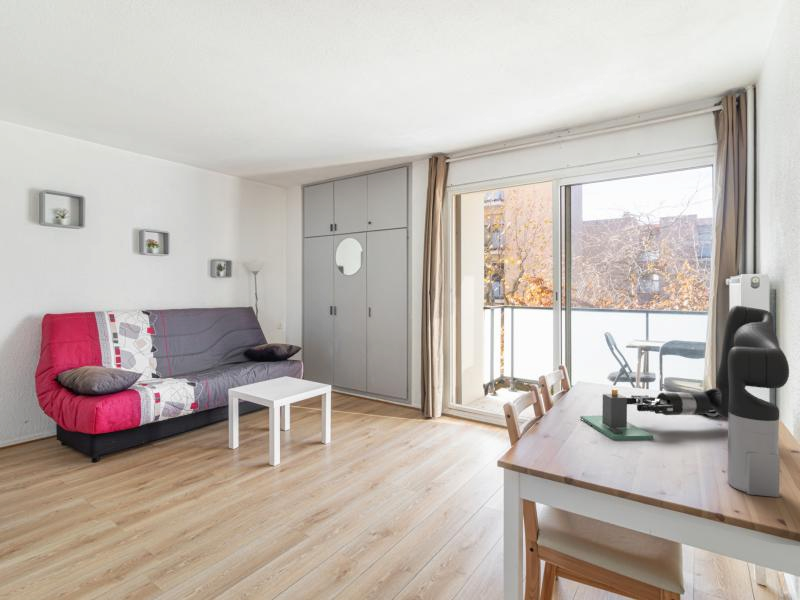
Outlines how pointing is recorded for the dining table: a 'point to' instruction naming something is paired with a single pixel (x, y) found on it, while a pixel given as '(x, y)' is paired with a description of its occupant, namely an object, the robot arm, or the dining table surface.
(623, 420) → the block
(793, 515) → the dining table surface
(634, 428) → the header board
